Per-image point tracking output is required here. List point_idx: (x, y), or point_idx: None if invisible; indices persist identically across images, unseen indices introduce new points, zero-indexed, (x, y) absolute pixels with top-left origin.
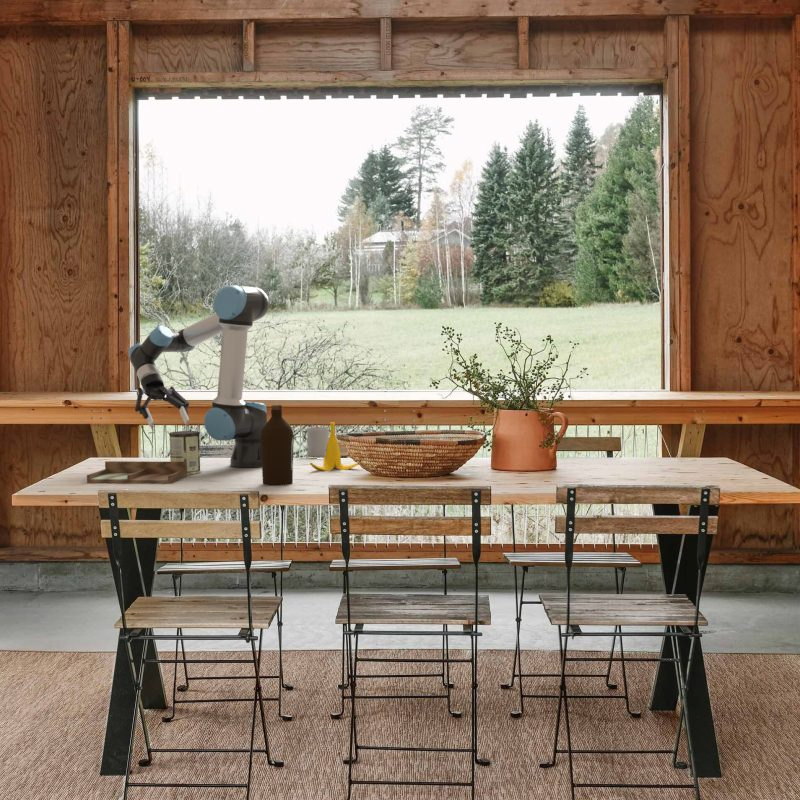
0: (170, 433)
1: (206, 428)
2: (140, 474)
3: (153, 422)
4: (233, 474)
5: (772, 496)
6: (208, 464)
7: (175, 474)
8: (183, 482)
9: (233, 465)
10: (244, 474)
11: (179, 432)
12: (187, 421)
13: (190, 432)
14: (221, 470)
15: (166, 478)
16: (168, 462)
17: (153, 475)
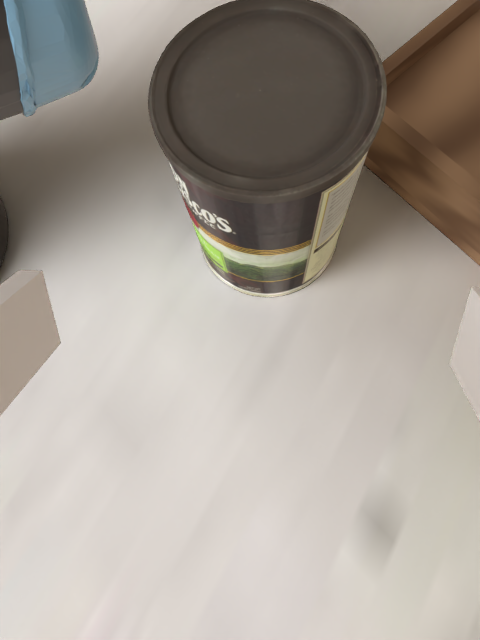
0: (384, 97)
1: (94, 35)
2: None
3: (472, 297)
4: (155, 66)
5: None
6: (12, 424)
7: (441, 16)
8: (415, 10)
9: (3, 244)
10: (127, 42)
11: (275, 143)
12: (41, 296)
13: (218, 82)
14: (113, 192)
15: (465, 52)
16: (409, 126)
17: (473, 160)
